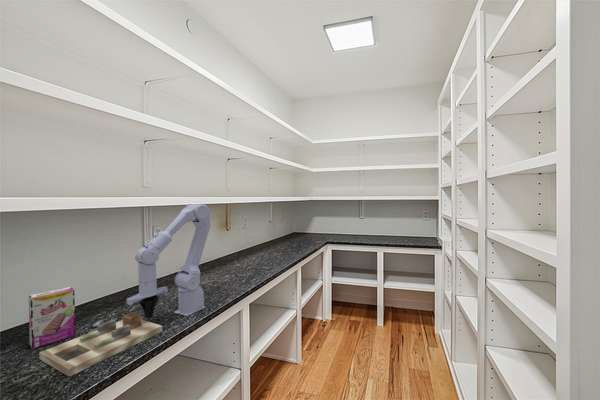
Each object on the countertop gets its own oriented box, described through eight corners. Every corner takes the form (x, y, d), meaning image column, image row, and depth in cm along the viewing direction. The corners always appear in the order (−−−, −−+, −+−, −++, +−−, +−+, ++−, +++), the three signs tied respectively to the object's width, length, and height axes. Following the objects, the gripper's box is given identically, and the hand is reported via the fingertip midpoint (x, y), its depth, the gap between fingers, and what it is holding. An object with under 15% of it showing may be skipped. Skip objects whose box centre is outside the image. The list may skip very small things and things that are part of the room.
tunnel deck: (131, 321, 106) (131, 308, 106) (162, 331, 97) (161, 317, 97) (39, 359, 82) (38, 342, 82) (69, 376, 74) (68, 357, 74)
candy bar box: (32, 350, 87) (29, 298, 87) (29, 345, 91) (27, 295, 90) (76, 336, 96) (74, 288, 96) (73, 331, 99) (71, 285, 99)
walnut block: (134, 323, 100) (134, 312, 100) (141, 325, 98) (141, 314, 98) (123, 328, 97) (122, 316, 96) (129, 330, 95) (129, 318, 95)
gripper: (159, 274, 111) (160, 308, 111) (120, 285, 98) (122, 323, 98) (170, 276, 107) (171, 311, 108) (132, 287, 95) (134, 327, 95)
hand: (149, 317), depth 103 cm, fingers closed
